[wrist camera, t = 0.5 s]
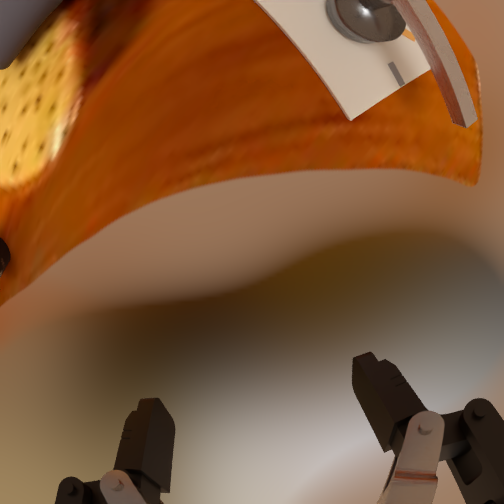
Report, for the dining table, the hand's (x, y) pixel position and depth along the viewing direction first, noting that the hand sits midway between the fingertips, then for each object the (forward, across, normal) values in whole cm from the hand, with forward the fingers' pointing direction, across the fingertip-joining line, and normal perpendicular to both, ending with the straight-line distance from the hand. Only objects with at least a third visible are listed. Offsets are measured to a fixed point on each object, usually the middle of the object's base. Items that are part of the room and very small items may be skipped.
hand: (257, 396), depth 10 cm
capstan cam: (+23, -23, -22) cm, 39 cm away
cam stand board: (+24, -21, -24) cm, 39 cm away
